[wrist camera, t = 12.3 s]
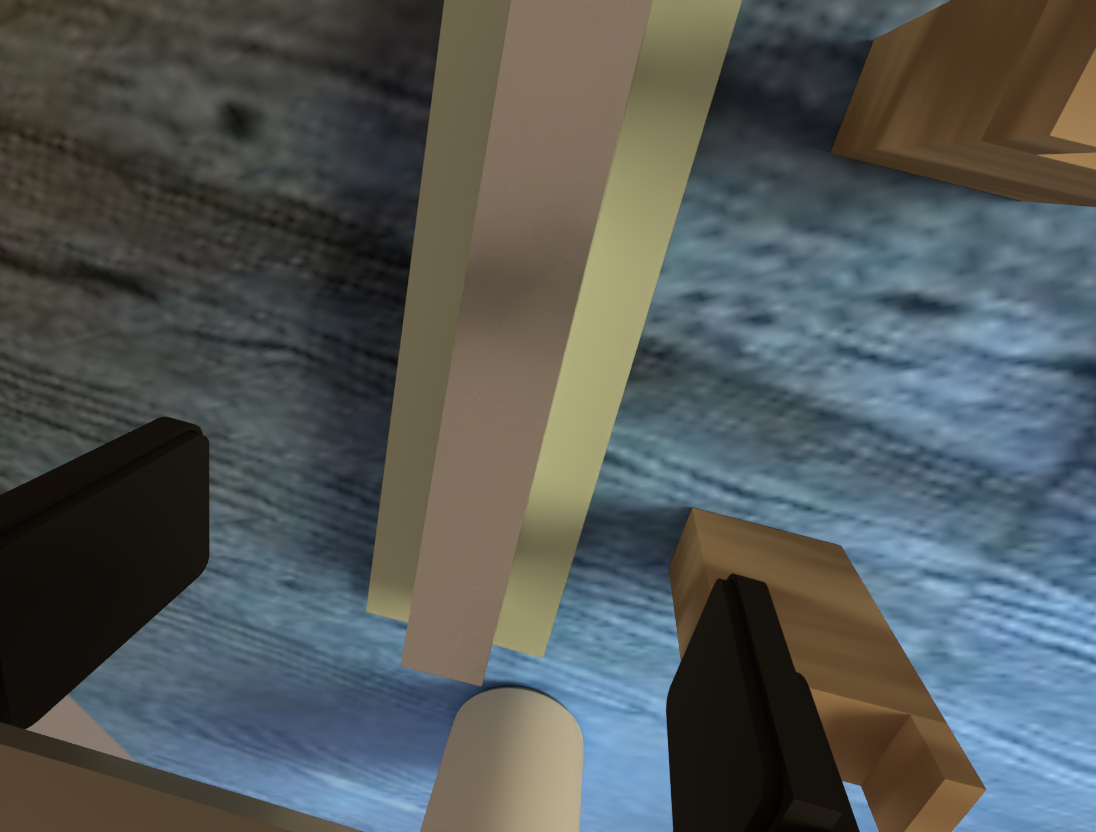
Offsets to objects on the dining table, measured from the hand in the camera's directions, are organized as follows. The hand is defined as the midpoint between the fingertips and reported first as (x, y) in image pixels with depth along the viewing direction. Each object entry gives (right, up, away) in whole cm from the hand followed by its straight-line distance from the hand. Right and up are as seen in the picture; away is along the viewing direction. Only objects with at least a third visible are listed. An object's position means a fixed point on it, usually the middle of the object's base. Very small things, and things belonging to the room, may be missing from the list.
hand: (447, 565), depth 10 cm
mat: (+1, +5, +11) cm, 12 cm away
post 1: (+10, -3, +13) cm, 17 cm away
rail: (+1, +5, +10) cm, 11 cm away
